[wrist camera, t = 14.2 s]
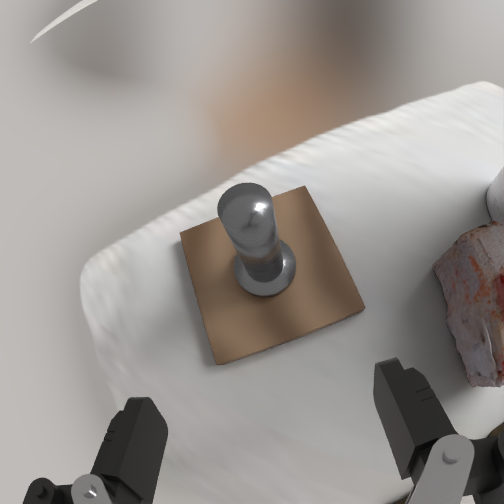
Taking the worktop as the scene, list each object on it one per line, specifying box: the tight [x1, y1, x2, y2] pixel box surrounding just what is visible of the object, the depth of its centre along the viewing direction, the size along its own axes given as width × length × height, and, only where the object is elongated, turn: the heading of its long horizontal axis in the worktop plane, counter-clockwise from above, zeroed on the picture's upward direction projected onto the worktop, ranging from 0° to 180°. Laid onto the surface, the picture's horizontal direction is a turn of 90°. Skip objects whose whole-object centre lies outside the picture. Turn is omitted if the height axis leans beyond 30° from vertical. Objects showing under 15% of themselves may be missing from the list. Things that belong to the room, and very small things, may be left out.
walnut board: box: [180, 186, 365, 365], centre depth 29 cm, size 14×14×2 cm
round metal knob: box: [217, 183, 296, 298], centre depth 23 cm, size 6×6×11 cm
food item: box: [432, 221, 504, 387], centre depth 20 cm, size 14×8×10 cm, turn 14°
